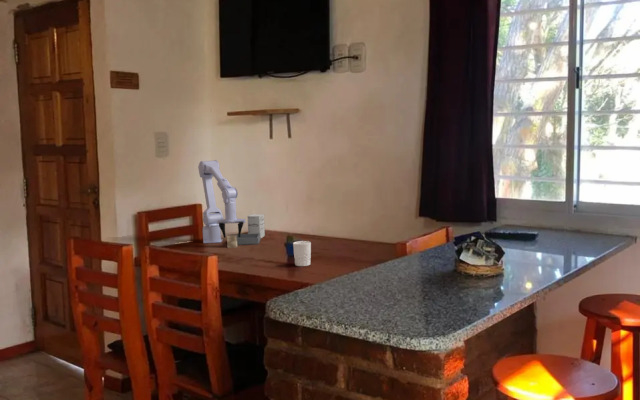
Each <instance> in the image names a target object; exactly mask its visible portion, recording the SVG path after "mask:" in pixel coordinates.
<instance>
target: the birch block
mask: <svg viewBox="0 0 640 400" xmlns="http://www.w3.org/2000/svg"><path fill="white" fill-rule="evenodd" d="M226 241H227V243H226V245H227V248H228V249H231V248H232V249H233V248H238V245H237V235H231V234H228V235H226Z"/></svg>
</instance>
